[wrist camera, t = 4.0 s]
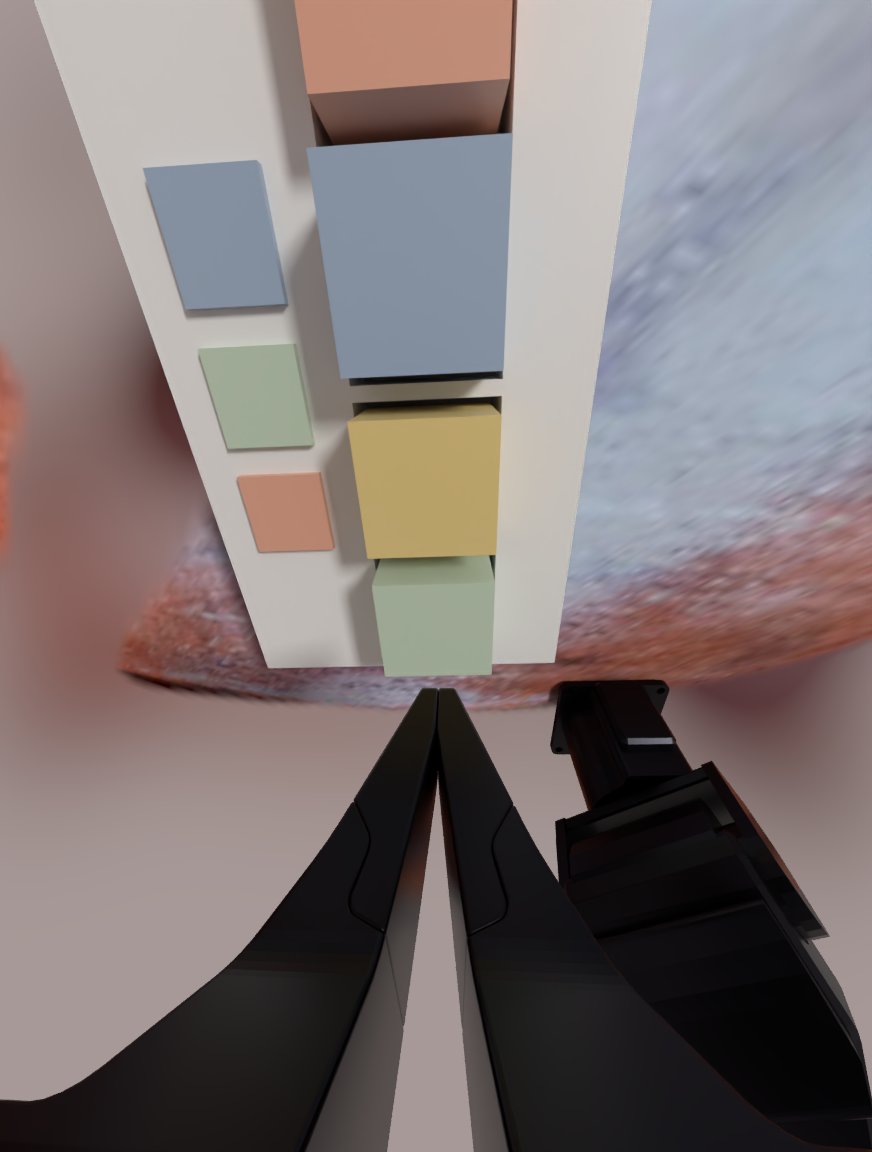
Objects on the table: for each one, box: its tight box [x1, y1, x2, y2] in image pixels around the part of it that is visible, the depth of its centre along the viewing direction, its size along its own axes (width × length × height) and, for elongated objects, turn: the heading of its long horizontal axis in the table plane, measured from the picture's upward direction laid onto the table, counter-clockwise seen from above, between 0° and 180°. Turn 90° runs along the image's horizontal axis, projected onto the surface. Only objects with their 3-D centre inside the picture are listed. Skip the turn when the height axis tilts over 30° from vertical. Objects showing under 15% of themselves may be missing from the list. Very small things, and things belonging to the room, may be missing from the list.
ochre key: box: [347, 403, 502, 559], centre depth 13 cm, size 4×4×4 cm
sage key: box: [372, 555, 495, 677], centre depth 16 cm, size 4×4×4 cm
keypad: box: [34, 0, 652, 668], centre depth 14 cm, size 24×14×4 cm, turn 3°
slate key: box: [306, 133, 513, 379], centre depth 11 cm, size 4×4×4 cm
